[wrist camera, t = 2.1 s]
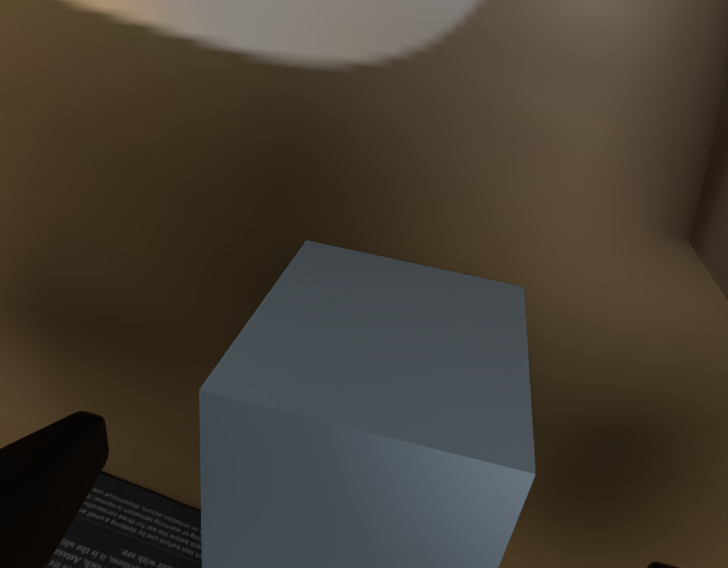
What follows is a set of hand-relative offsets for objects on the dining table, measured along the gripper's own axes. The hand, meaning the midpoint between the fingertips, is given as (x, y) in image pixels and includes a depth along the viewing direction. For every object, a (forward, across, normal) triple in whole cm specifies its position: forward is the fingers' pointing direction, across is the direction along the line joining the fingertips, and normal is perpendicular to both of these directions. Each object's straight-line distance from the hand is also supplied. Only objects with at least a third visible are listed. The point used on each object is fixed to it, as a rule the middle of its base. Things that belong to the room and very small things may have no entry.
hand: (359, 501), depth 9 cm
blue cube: (+4, 0, 0) cm, 4 cm away
